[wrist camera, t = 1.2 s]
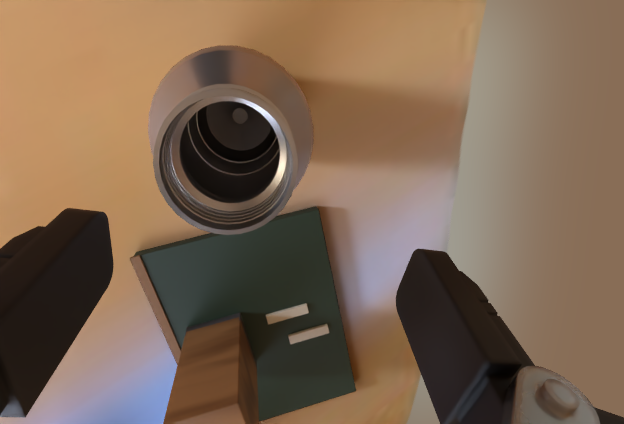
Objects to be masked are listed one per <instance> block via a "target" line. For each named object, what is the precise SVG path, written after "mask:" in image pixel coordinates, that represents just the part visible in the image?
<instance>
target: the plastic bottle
mask: <svg viewBox="0 0 624 424" xmlns="http://www.w3.org/2000/svg"><path fill="white" fill-rule="evenodd" d="M148 134H149V140H150V147H151V151H152V154H153V166H154V173H155V178H156V181H157V184H158V187H159V189H160V192H161V194H162V195H163V197H164V199H165V200H166V202H167V203H168V205H169V206H170V207H171V208H172V209H173V210H174V211H175V213H176V214H177V215H178V216H180V217H181V218H182V219H184V220H185V221H186V222H188V223H189V224H191V225H193V226H195V227H197V228H199V229H201V230H204V231H207V232H211V233H214V234H223V235H233V234H242V233H246V232H249V231H253V230H255V229H257V228H259V227H261V226H263V225H265V224H267V223H268V222H269V221H271V220H272V219H273V218H275V217H276V216H277V215H278V213H279V212H280V211H281V210H282V209H283V208H284V207H285V205H286V203H287V202H288V200H289V198H290V197H291V194H292V192H293V190H294V189H295V188H296V187H297V185H298V184H299V182H300V180H301V179H302V177H303V176H304V174H305V172H306V169H307V167H308V164H309V162H310V159H311V154H312V148H313V122H312V117H311V111H310V108H309V106H308V103H307V101H306V98H305V95H304V94H303V92H302V90H301V89H300V87H299V85H298V84H297V82H296V81H295V79H294V78H293V77H292V76H291V75H290V74H289V73H288V72H287V71H286V70H285V68H284V67H282V66H281V65H279V64H278V63H277V62H275V61H274V60H273V59H271V58H270V57H268V56H266V55H264V54H262V53H260V52H258V51H255V50H253V49H249V48H244V47H240V46H214V47H210V48H205V49H201V50H199V51H197V52H195V53H193V54H190V55H188V56H186V57H185V58H183V59H182V60H181V61H180V62H178V63H177V64H176V65H175V66H173V67H172V68H171V69H170V71H169V72H168V73H167V74H166V76H165V77H164V78H163V79H162V81H161V82H160V84H159V86H158V88H157V90H156V92H155V94H154V96H153V100H152V104H151V108H150V112H149V124H148Z"/></svg>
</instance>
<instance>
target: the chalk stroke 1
mask: <svg viewBox="0 0 624 424" xmlns="http://www.w3.org/2000/svg"><path fill="white" fill-rule="evenodd" d="M307 313H309V311H308V307H307V303H305V304H301V305H298V306H294V307H291V308H287V309H284V310H280V311H276V312H273V313H269V314H266V318H267V322H268V324H272V323H276V322H279V321H283V320H286V319H290V318H293V317H297V316H300V315H304V314H307Z"/></svg>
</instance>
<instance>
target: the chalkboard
mask: <svg viewBox="0 0 624 424" xmlns="http://www.w3.org/2000/svg"><path fill="white" fill-rule="evenodd" d="M130 261H131V263H132V265H133V267H134V269H135V272H136V274H137V276H138V278H139V281H140V283H141V285H142V287H143V289H144V292H145V294H146V296H147V298H148V301H149V303H150V305H151V307H152V309H153V312H154V314H155V316H156V318H157V321H158V323H159V325H160V327H161V329H162V332H163V334H164V336H165V338H166V341H167V343H168V345H169V347H170V349H171V352H172V354H173V356H174V358H175V361H176V363H177V365H178V362H179V358H180V354H181V350H182V346H183V342H184V337H185V333H186V329H187V327H190V326H194V325H197V324H201V323H204V322H208V321H212V320H215V319H219V318H222V317H226V316H229V315H233V314H237V313H241V316H242V319H243V322H244V325H245V328H246V331H247V334H248V337H249V340H250V343H251V346H252V349H253V352H254V355H255V358H256V361H257V385H258V409H259V421H262V420H266V419H269V418H272V417H275V416H278V415H282V414H285V413H288V412H291V411H294V410H297V409H301V408H304V407H307V406H310V405H313V404H316V403H320V402H323V401H326V400H329V399H332V398H335V397H339V396H342V395H345V394H348V393H351V392H355V391H356V388H355V383H354V378H353V374H352V369H351V364H350V359H349V354H348V349H347V345H346V340H345V335H344V330H343V325H342V320H341V315H340V311H339V306H338V301H337V296H336V291H335V286H334V281H333V277H332V272H331V267H330V262H329V257H328V252H327V248H326V243H325V238H324V233H323V228H322V223H321V218H320V214H319V210H318V208H317V206H315V207H311V208H307V209H304V210H300V211H296V212H292V213H288V214H284V215H280V216H276V217H275V218H273V219H272V220H271V221H269V222H268V223H267V224H265V225H263V226H261V227H259V228H257V229H255V230H253V231H249V232H246V233H242V234H233V235H223V234H214V233H209V234H205V235H201V236H197V237H194V238H190V239H186V240H182V241H178V242H174V243H170V244H166V245H162V246H158V247H154V248H150V249H146V250H142V251H139V252H136V253H135V255H134V256H133V257H130ZM305 303H307V307H308V311H309V313H307V314H304V315H300V316H297V317H293V318H290V319H286V320H283V321H279V322H276V323H272V324H268V322H267V318H266V314H269V313H273V312H276V311H280V310H284V309H287V308H291V307H294V306H298V305H301V304H305ZM324 324H327V325H328V329H329V333H328V334H324V335H321V336H318V337H314V338H311V339H307V340H304V341H301V342H297V343H294V344H290V341H289V337H288V335H289V334H293V333H296V332H300V331H303V330H306V329H310V328H313V327H317V326H320V325H324Z"/></svg>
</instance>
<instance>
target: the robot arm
mask: <svg viewBox="0 0 624 424" xmlns="http://www.w3.org/2000/svg"><path fill="white" fill-rule="evenodd" d="M112 273H113V256H112V247H111V239H110V231H109V223H108V218H107V216H106V214H105V213H104V212H99V211H90V210H81V209H72V208H67V209H65V210H64V211H62V212H61V213H60V214H59V215H58V216H57V217H56V218H55V219H54V220H53V221H51V222H50V223H49V224H48V225H47V226H46V227H41V226H38V227H36V228H34V229H31V230H29V231H27V232H25V233H23V234H21V235H19V236H17V237H14V238H13V239H11V240H10V241H9V242H8V243H7V244H5V245H4V246H3V247H2V248H1V249H0V417H26V415H27V414H28V412H29V411H30V409H31V408H32V406H33V404H34V403H35V401H36V400H37V398H38V397H39V395H40V393H41V392H42V390H43V389H44V387H45V385H46V384H47V382H48V381H49V379H50V378H51V376H52V374H53V373H54V371H55V370H56V368H57V366H58V365H59V363H60V362H61V360H62V359H63V357H64V355H65V354H66V352H67V351H68V349H69V348H70V346H71V344H72V343H73V341H74V340H75V338H76V336H77V335H78V333H79V332H80V330H81V329H82V327H83V325H84V324H85V322H86V321H87V319H88V317H89V316H90V314H91V313H92V311H93V310H94V308H95V306H96V305H97V303H98V302H99V300H100V298H101V297H102V295H103V294H104V292H105V291H106V289H107V287H108V285H109V283H110V281H111V277H112ZM396 307H397V312H398V315H399V317H400V320H401V322H402V325H403V328H404V330H405V333H406V335H407V338H408V341H409V343H410V346H411V348H412V351H413V354H414V356H415V359H416V361H417V364H418V367H419V369H420V372H421V375H422V377H423V379H424V382H425V385H426V388H427V390H428V393H429V395H430V398H431V401H432V403H433V406H434V408H435V411H436V414H437V416H438V419H439V421H440V424H624V418H623V417H620V416H618V415H615V414H612V413H609V412H606V411H603V410H600V409H597V408H594V407H593V406H592V404H591V403H590V401H589V400H588V399H587V398H586V396H585V395H584V394H583V393H582V392H581V391H580V390H579V389H578V388H577V387H575V386H574V385H573V384H572V383H571V382H569V381H568V380H566V379H565V378H564V377H562V376H560V375H558V374H557V373H555V372H553V371H551V370H548V369H546V368H543V367H539V366H535V365H534V364H533V362H532V361H531V359H530V358H529V356H528V355H527V354H526V352H525V351H524V350H523V348H522V347H521V345H520V344H519V342H518V341H517V340H516V338H515V337H514V335H513V334H512V333H511V331H510V330H509V328H508V327H507V326H506V324H505V323H504V321H503V320H502V319H501V317H500V316H497V312H496V310H495V309H494V307H493V306H492V305H491V303H488V299H487V298H486V296H485V295H484V293H483V292H482V291H481V289H480V288H479V286H478V285H477V284H476V283H475V282H473V281H472V280H471V279H470V278H469V277H467V276H466V275H465V274H464V273H463V272H461V271H459V270H458V269H457V267H456V266H455V264H454V263H453V261H452V260H451V259H450V257H449V255H448V254H447V253H446V252H443V251H434V250H426V249H416V250H415V251H414V252H413V254H412V256H411V259H410V261H409V263H408V266H407V268H406V271H405V273H404V276H403V278H402V280H401V283H400V285H399V288H398V290H397V295H396Z"/></svg>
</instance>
